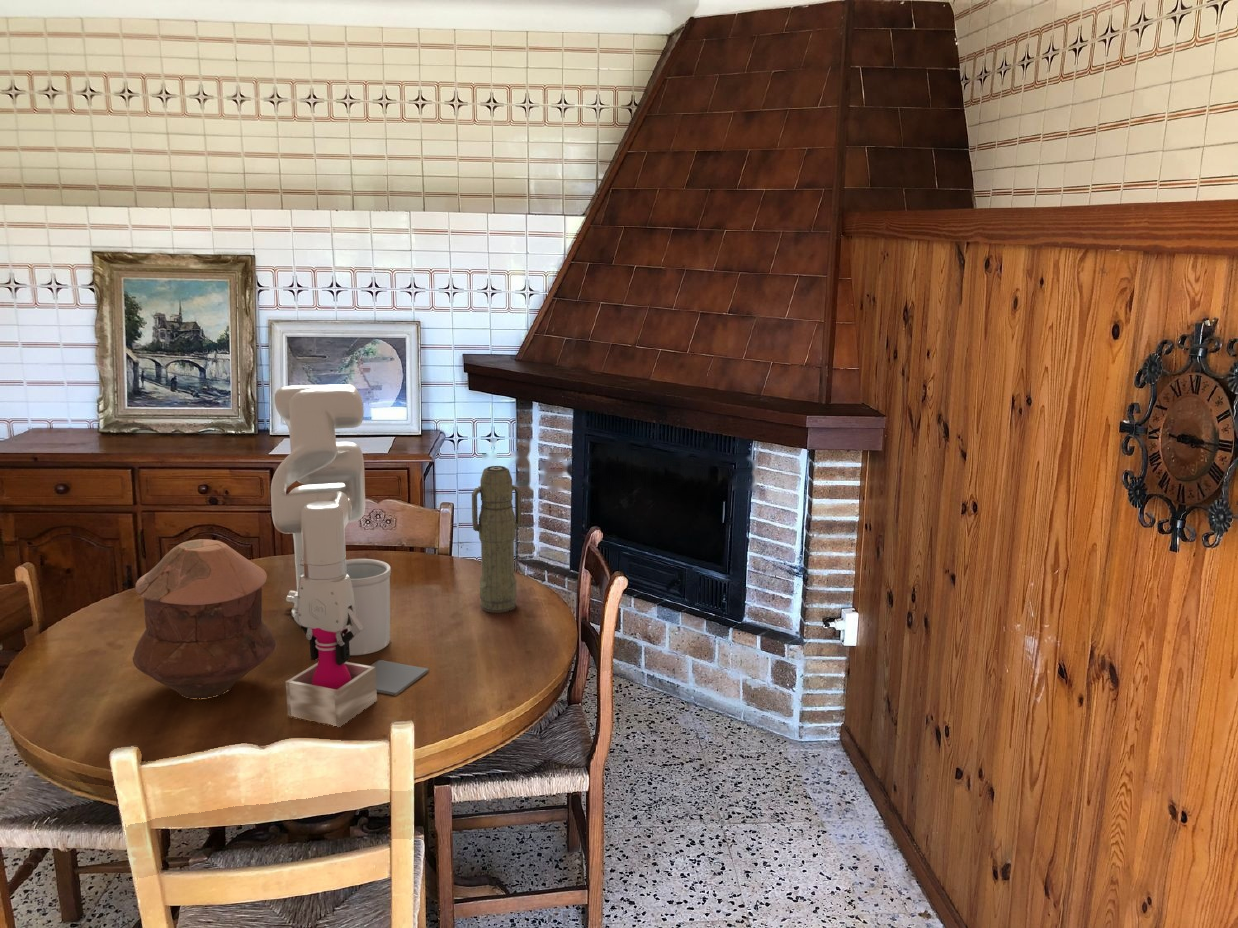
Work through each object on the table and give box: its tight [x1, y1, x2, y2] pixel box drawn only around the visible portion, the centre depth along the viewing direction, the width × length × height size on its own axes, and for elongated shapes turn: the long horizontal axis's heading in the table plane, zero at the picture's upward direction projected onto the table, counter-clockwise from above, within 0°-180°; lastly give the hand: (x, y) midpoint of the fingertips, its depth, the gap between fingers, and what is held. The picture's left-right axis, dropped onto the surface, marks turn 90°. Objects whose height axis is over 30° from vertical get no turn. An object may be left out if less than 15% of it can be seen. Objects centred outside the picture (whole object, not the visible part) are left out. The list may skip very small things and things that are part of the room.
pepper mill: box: [312, 628, 351, 690], centre depth 178 cm, size 7×7×20 cm
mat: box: [370, 659, 429, 696], centre depth 193 cm, size 12×12×1 cm
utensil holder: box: [343, 558, 392, 656], centre depth 209 cm, size 15×15×18 cm
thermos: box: [471, 465, 522, 614], centre depth 230 cm, size 9×12×35 cm
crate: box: [285, 661, 378, 728], centre depth 179 cm, size 12×12×7 cm
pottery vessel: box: [132, 538, 276, 699], centre depth 184 cm, size 26×26×30 cm
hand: (330, 658), depth 178 cm, fingers closed on pepper mill, 5 cm apart
